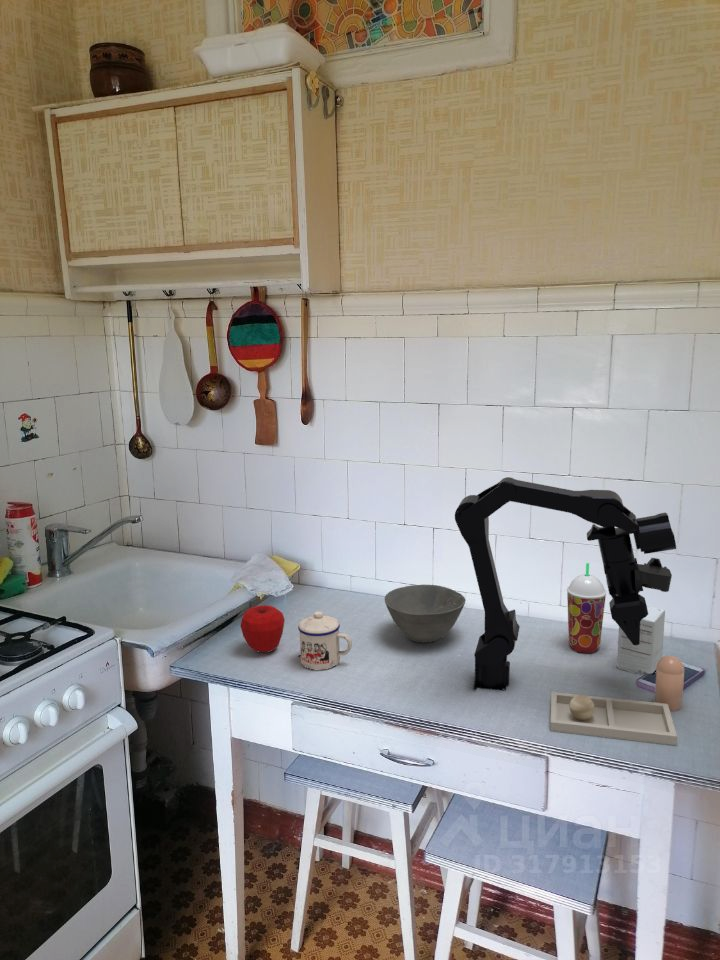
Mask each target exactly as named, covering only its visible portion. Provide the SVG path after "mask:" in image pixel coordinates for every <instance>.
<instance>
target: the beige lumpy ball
mask: <svg viewBox="0 0 720 960" xmlns="http://www.w3.org/2000/svg"><path fill="white" fill-rule="evenodd" d="M585 695H586V694H577V696H575V697H574V698H572V700H571V702H570V711H571V713H572V715H573V716H574V717H576V718H577V719H580V720H586V719H589V718H590V717H591V716H592V715H593V713H594V704H593V702H592V700H591V699H590V698H589V697H587V696H588V695H587V696H585Z"/></svg>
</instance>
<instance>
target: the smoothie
mask: <svg viewBox="0 0 720 960" xmlns="http://www.w3.org/2000/svg"><path fill="white" fill-rule="evenodd" d="M566 592H567V593H566V595H567V597H566V599H567V624H568V625H567V630H568V643H569V644H570V647H571V649H572V650H574V651H576V652H578V653H583V654H584V653H585V654H588V653H589V654H590V653H594V652H597V651H598V649H599V646H601V639H602V633H603V632H602V631H603V630H602V629H603V622H604V613H605V612H604V611H605V607H606V597H607V590H606V589H605V587H604V585H603V583H602V582H601V580H600V579H599V578H598V577H596V576H595V575H592V574H590V562H589V563H588V562H586V563H585V573H584V574H579V575H577V576H576V577H574V579H572V580H571V582H570V584H569V586H567V589H566Z"/></svg>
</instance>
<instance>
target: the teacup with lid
mask: <svg viewBox="0 0 720 960" xmlns="http://www.w3.org/2000/svg"><path fill="white" fill-rule="evenodd" d="M340 627H341V625H340V622H339V620H338V619H336V618H335V617H333V616H329V615H324V613H323V611H315V612H314V614H313V615H311V616H309V617H306V618H304V619H302V620H301V621H300V622H299V623H298V627H297V628H298V632H299V645H300V647H299V648H300V649H299V650H300V663H301V665H302V664H303V665H304V666H306V667H308V668H311V669H327V668H330V669H332V668H331V667H333V666H335V665H336V666H338V664H339V663H340V660H341V656H345V655H348V653H349V652H350V651H351V649H352V646H353V642H352V638H351V637H350V636H349V635H348V634H346V633H344V632H343V633H342V632H340ZM340 638H341V639H344V640H346V642H347V649H346V650H340ZM303 665H302V666H303ZM304 666H303V667H304ZM336 666H335V667H336ZM306 667H305V668H306ZM308 668H307V669H308ZM333 668H334V667H333ZM311 669H310V670H311ZM327 670H328V669H327Z"/></svg>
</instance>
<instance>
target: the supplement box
mask: <svg viewBox="0 0 720 960" xmlns="http://www.w3.org/2000/svg"><path fill="white" fill-rule="evenodd" d="M647 610H648V615H647V616H646V617H645V618H643V619H642V620H641V621H640V644H639V645H633V644H632V643H631V641H630V640H629V639H628V637H627V636H626V635H625V633H624V632H623V631H622V629H621V628H620V627H619V626H618V639H617V657H616V658H617V661H616V663H617V664H616V668H617V669H619V670H623V671H626V672H629V673H633V674H635V675H646V674H649V673H653V672H654V671H655V670H656V669H657V663H658V661H659V660H660V659H661V658H662V657H663V650H664V637H665V635H664V634H665V620H666V619H665V618H666V609H665V610H664V609H662V608H658V607H653V606H648V605H647Z"/></svg>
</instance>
